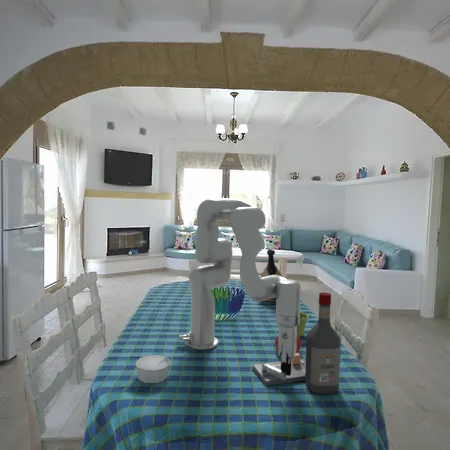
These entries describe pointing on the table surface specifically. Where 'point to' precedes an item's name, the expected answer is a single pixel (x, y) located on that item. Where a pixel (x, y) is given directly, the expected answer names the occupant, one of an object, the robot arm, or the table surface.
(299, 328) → the plant pot
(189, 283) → the robot arm
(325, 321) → the liquor
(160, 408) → the table surface
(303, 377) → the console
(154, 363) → the ramekin
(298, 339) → the pomegranate
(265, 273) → the ceramic jug
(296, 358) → the fader knob
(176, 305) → the table surface
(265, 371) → the silver metal bar
